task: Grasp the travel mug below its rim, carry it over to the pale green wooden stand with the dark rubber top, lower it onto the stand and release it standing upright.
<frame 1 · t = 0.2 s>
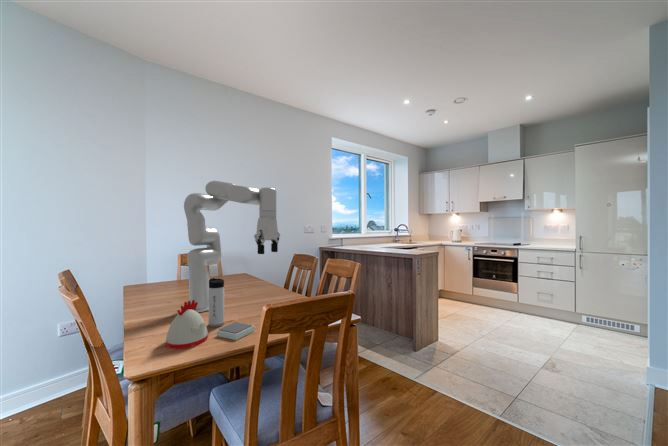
hand: (267, 252, 126), 31 cm above the table, tool pointing down, fingers open, 9 cm apart
kitchen timer: (187, 341, 105), on the table
stand: (235, 333, 112), on the table
travel mug: (216, 325, 121), on the table
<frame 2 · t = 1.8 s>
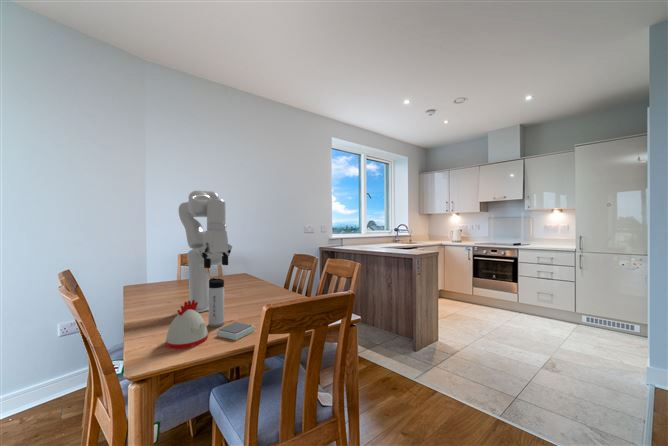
hand: (216, 266, 121), 26 cm above the table, tool pointing down, fingers open, 9 cm apart
nothing on the table moved.
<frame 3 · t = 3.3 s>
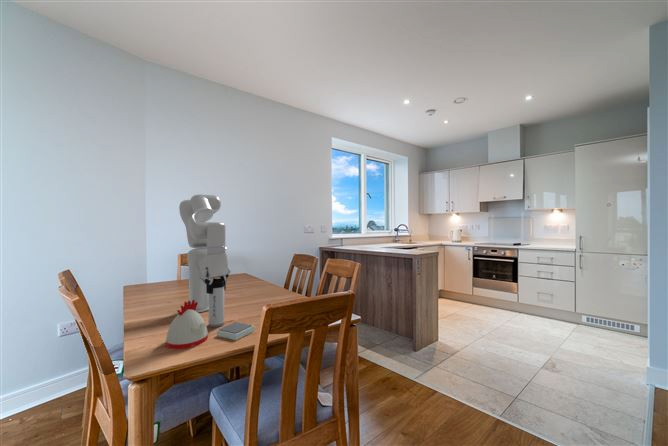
hand: (216, 291, 122), 15 cm above the table, tool pointing down, fingers closed on travel mug, 6 cm apart
travel mug: (216, 325, 121), on the table, touching gripper
everything else where it was.
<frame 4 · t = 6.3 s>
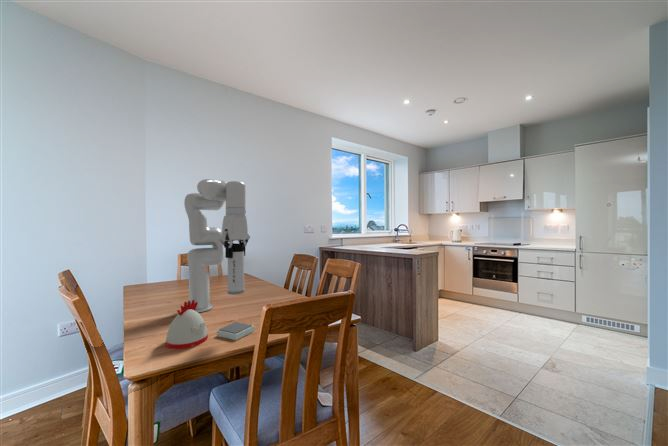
hand: (235, 256, 112), 31 cm above the table, tool pointing down, fingers closed on travel mug, 6 cm apart
travel mug: (235, 293, 112), point 16 cm above the table, touching gripper
everything else where it was.
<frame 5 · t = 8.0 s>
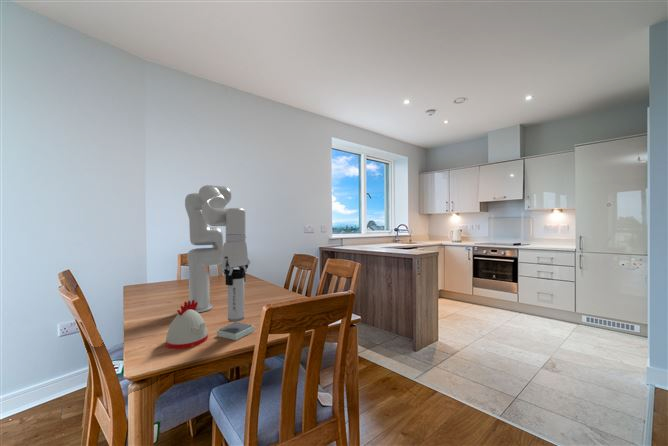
hand: (235, 282, 112), 20 cm above the table, tool pointing down, fingers closed on travel mug, 6 cm apart
travel mug: (235, 319, 112), point 6 cm above the table, touching gripper
everything else where it was.
when the fingers open (18 cm above the table, at t = 9.5 s): travel mug stays where it is, resting on stand.
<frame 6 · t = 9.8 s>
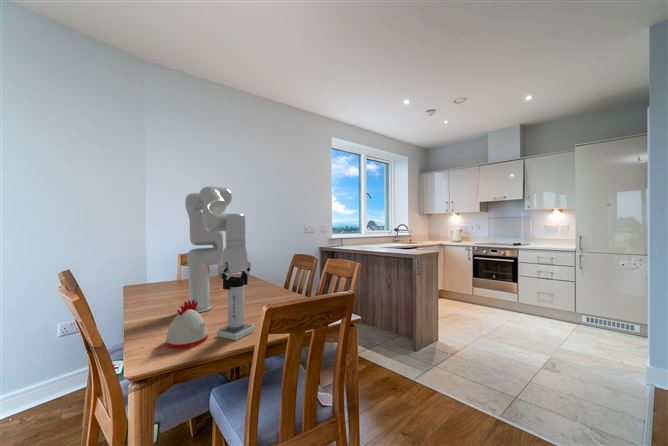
hand: (235, 286, 112), 19 cm above the table, tool pointing down, fingers open, 9 cm apart
travel mug: (235, 327, 112), point 2 cm above the table, touching stand
everything else where it was.
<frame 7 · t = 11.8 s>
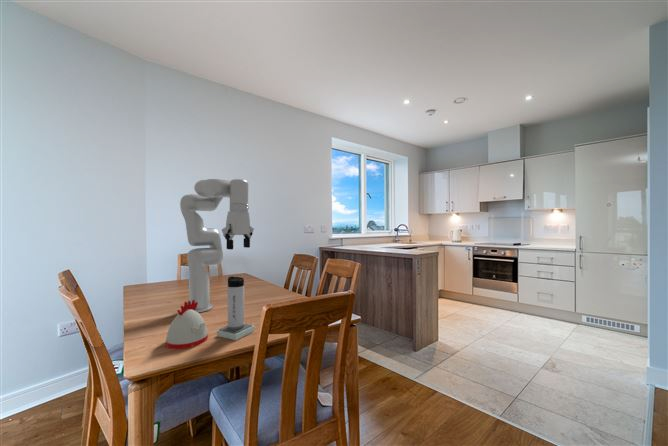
hand: (238, 248, 119), 34 cm above the table, tool pointing down, fingers open, 9 cm apart
nothing on the table moved.
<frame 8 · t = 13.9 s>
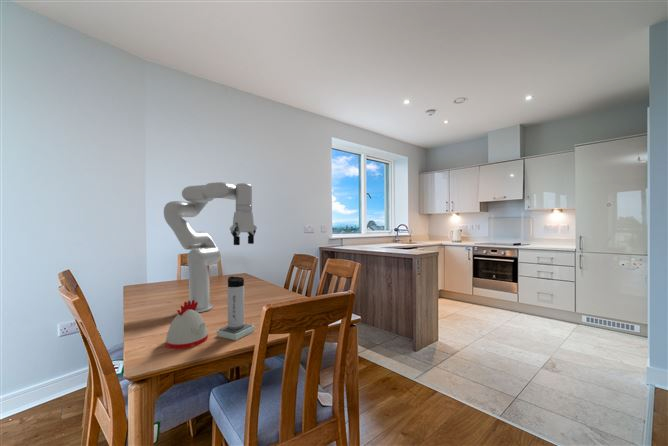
hand: (244, 244, 135), 34 cm above the table, tool pointing down, fingers open, 9 cm apart
nothing on the table moved.
at the end: travel mug inside the target area on the stand (0.3 cm from its centre), point 2.3 cm above the stand's base; travel mug tilted 0°; the gripper is holding nothing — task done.
